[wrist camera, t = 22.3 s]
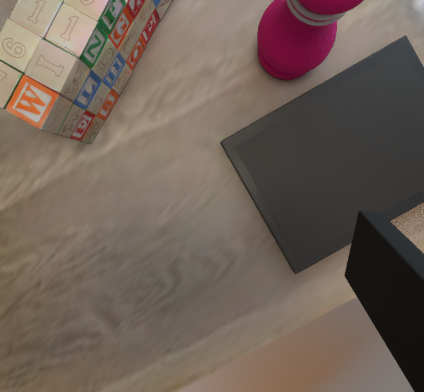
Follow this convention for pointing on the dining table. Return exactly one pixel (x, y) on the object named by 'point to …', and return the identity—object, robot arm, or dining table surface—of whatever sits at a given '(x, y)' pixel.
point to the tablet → (337, 154)
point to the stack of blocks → (72, 60)
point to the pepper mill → (298, 34)
